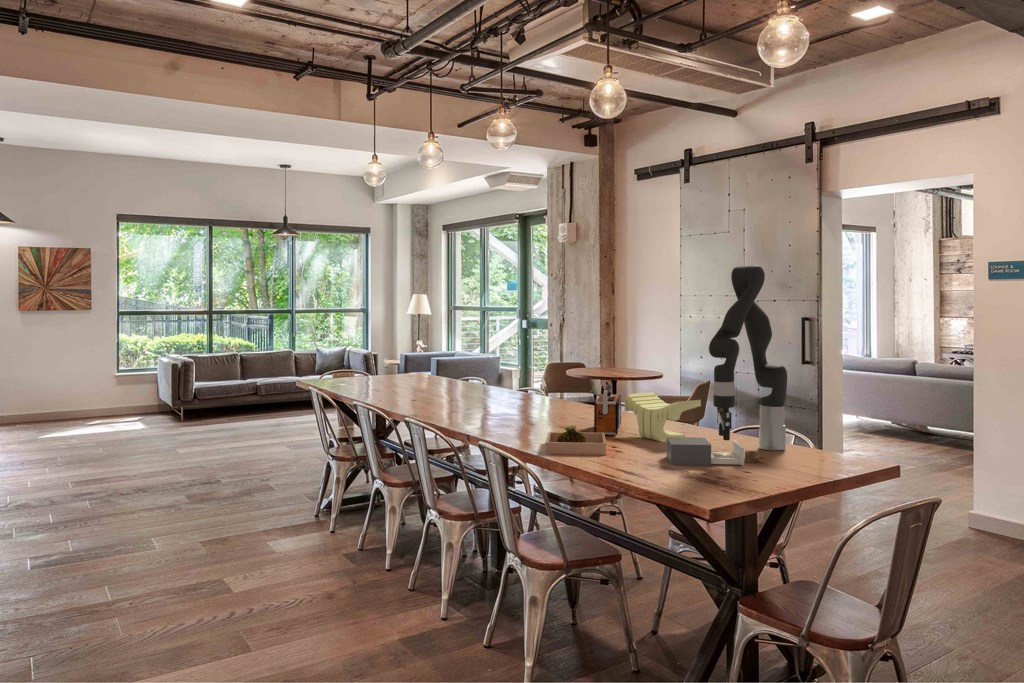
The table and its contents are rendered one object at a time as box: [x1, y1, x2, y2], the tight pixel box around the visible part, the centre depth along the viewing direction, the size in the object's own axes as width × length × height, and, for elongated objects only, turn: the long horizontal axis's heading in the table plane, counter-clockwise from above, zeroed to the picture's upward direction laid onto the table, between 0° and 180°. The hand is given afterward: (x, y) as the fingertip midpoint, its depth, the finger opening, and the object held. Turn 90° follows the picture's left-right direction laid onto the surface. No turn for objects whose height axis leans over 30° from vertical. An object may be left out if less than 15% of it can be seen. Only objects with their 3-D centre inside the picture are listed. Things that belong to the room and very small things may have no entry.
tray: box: [711, 440, 745, 466], centre depth 273 cm, size 14×14×6 cm
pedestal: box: [744, 450, 760, 464], centre depth 273 cm, size 5×5×4 cm
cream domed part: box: [715, 453, 732, 458], centre depth 273 cm, size 6×6×2 cm
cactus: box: [557, 424, 586, 443], centre depth 297 cm, size 17×16×10 cm
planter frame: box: [545, 431, 607, 456], centre depth 298 cm, size 23×23×4 cm
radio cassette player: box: [593, 383, 622, 437], centre depth 338 cm, size 29×10×20 cm, turn 168°
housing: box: [666, 436, 712, 467], centre depth 274 cm, size 14×14×7 cm
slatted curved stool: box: [624, 391, 702, 443], centre depth 319 cm, size 30×16×18 cm, turn 30°
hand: (724, 437), depth 273 cm, fingers open, 8 cm apart
